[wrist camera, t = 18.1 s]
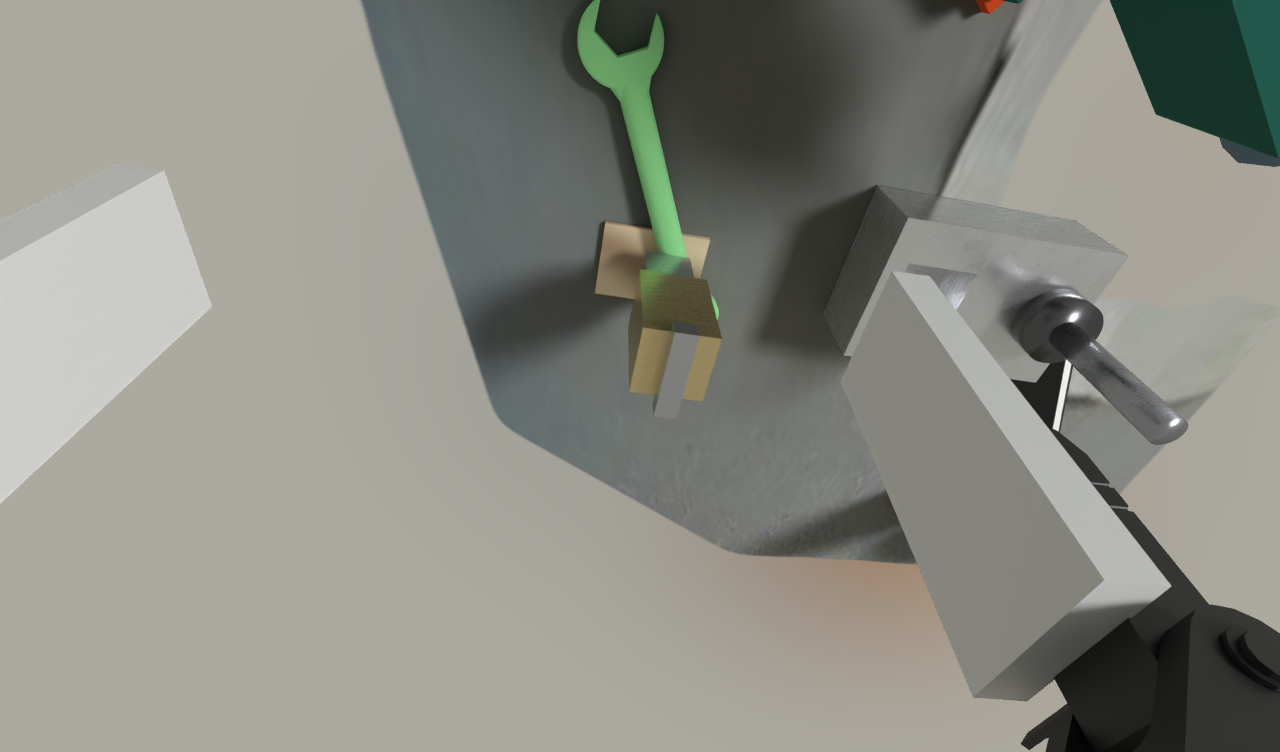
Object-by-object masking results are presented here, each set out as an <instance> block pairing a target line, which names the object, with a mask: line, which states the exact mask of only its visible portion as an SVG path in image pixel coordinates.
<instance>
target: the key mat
mask: <svg viewBox="0 0 1280 752" xmlns="http://www.w3.org/2000/svg"><path fill="white" fill-rule="evenodd" d="M682 237H683V242H684V246H685V251H686V255H687V258H690V260H691V264H692V269H693V274H694V278H699V279H700V276H701V272H702V268H703V265H704V261H705V257H706V253H707V250H708V246H709V242H710V238H708V237H702V236H695V235H689V234H683V233H682ZM645 251H648V252H655V253H659V251H658V248H657V244H656V240H655V236H654V232H653V229H652V228H646V227H640V226H634V225H627V224H621V223H615V222H609V221H605V227H604V234H603V241H602V248H601V254H600V261H599V268H598V275H597V281H596V288H595V293H596V294H603V295H610V296H616V297H623V298H630V299H634V297H635V292H636V287H637V282H638V277H639V272H640V269H642V264H643V259H644V254H645Z"/></svg>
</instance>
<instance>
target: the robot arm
mask: <svg viewBox="0 0 1280 752" xmlns="http://www.w3.org/2000/svg"><path fill="white" fill-rule="evenodd" d="M211 307H212V305H211V303H210V300H209V297H208V294H207V291H206V288H205V285H204V283H203V280H202V277H201V274H200V272H199V268H198V266H197V263H196V260H195V257H194V254H193V251H192V249H191V246H190V243H189V240H188V237H187V234H186V232H185V229H184V226H183V223H182V220H181V217H180V215H179V212H178V209H177V206H176V203H175V201H174V198H173V195H172V192H171V189H170V186H169V183H168V181H167V178H166V175H165V172H164V170H158V169H150V168H143V167H135V166H129V165H121V164H115V165H113V166H111V167H109V168H107V169H104V170H102V171H101V172H98V173H96V174H94V175H92V176H90V177H88V178H86V179H84V180H82V181H80V182H78V183H76V184H74V185H72V186H70V187H68V188H66V189H64V190H62V191H60V192H57V193H56V194H53V195H51V196H49V197H47V198H45V199H43V200H41V201H39V202H37V203H35V204H33V205H31V206H29V207H27V208H25V209H23V210H21V211H19V212H17V213H15V214H13V215H10V216H8V217H6V218H4V219H2V220H0V503H2V501H4V500H5V499H6V498H7V497H8V496H9V495H10V494H11V493H12V492H13V491H14V490H15V489H16V488H18V487H19V486H20V485H21V484H22V483H23V482H24V481H25V480H26V479H27V478H28V477H29V476H31V475H32V474H33V473H34V472H35V471H36V470H37V469H38V468H39V467H40V466H41V465H42V464H43V463H44V462H46V461H47V460H48V459H49V458H50V457H51V456H52V455H53V454H54V453H55V452H56V451H57V450H58V449H59V448H60V447H62V446H63V445H64V444H65V443H66V442H67V441H68V440H69V439H70V438H71V437H72V436H73V435H75V433H77V432H78V431H79V430H80V429H81V428H82V427H83V426H84V425H85V424H86V423H87V422H89V420H91V419H92V418H93V417H94V416H95V415H96V414H97V413H98V412H99V411H100V410H101V409H102V408H104V407H105V406H106V405H107V404H108V403H109V402H110V401H111V400H112V399H113V398H114V397H115V396H116V395H117V394H118V393H120V392H121V391H122V390H123V389H124V388H125V387H126V386H127V385H128V384H129V383H130V382H131V381H133V380H134V379H135V378H136V377H137V376H138V375H139V374H140V373H141V372H142V371H143V370H144V369H145V368H146V367H148V366H149V365H150V364H151V363H152V362H153V361H154V360H155V359H156V358H157V357H158V356H159V355H160V354H161V353H163V352H164V351H165V350H166V349H167V348H168V347H169V346H170V345H171V344H172V343H173V342H174V341H175V340H176V339H178V338H179V337H180V336H181V335H182V334H183V333H184V332H185V331H186V330H187V329H188V328H189V327H191V326H192V325H193V324H194V323H195V322H196V321H197V320H198V319H199V318H200V317H201V316H202V315H203V314H204V313H206V312H207V311H208V310H209V309H210V308H211ZM841 384H842V386H843V389H844V391H845V393H846V396H847V398H848V401H849V403H850V405H851V408H852V410H853V413H854V415H855V417H856V420H857V422H858V424H859V427H860V429H861V432H862V434H863V436H864V439H865V441H866V443H867V446H868V448H869V451H870V453H871V455H872V458H873V460H874V462H875V465H876V467H877V470H878V472H879V474H880V477H881V479H882V481H883V484H884V486H885V489H886V491H887V493H888V496H889V498H890V501H891V503H892V505H893V508H894V510H895V512H896V515H897V517H898V520H899V522H900V524H901V527H902V529H903V531H904V534H905V536H906V539H907V541H908V543H909V546H910V548H911V550H912V553H913V555H914V558H915V560H916V562H917V565H918V567H919V569H920V572H921V574H922V577H923V579H924V581H925V584H926V586H927V588H928V591H929V593H930V596H931V597H932V600H933V603H934V605H935V608H936V610H937V612H938V615H939V617H940V619H941V622H942V624H943V626H944V629H945V631H946V634H947V636H948V638H949V641H950V643H951V646H952V648H953V650H954V653H955V655H956V657H957V660H958V662H959V665H960V667H961V669H962V672H963V674H964V677H965V679H966V681H967V683H968V686H969V688H970V691H971V693H972V696H973V697H976V698H989V699H1004V700H1018V701H1028V700H1029V699H1030V698H1032V697H1033V696H1034V695H1036V694H1037V693H1038V692H1039V691H1040V690H1042V689H1043V688H1044V687H1046V686H1047V685H1048V684H1049V683H1051V682H1052V681H1053V680H1054V679H1055V681H1056V683H1057V684H1058V686H1059V688H1060V690H1061V691H1062V694H1063V696H1064V697H1065V699H1066V701H1067V704H1066V705H1065V706H1063V707H1062V708H1061V709H1059V710H1058V711H1057V712H1055V713H1054V714H1052V715H1051V716H1050V717H1048V718H1047V719H1046V720H1044V721H1043V722H1042V723H1040V724H1039V725H1038V726H1036V727H1035V728H1033V729H1032V730H1031V731H1029V732H1028V733H1027V735H1026V736H1025V738H1024V739H1023V741H1022V742H1021V744H1022V745H1023V746H1024V747H1026V748H1027V749H1028V750H1030V749H1031V748H1033V747H1034V746H1036V745H1037V744H1039V743H1040V742H1041V741H1043V740H1044V739H1046V738H1049V740H1048V744H1047V748H1046V752H1280V633H1278V632H1277V631H1275V630H1274V629H1272V628H1271V627H1269V626H1268V625H1266V624H1265V623H1263V622H1261V621H1260V620H1258V619H1255V618H1253V617H1251V616H1249V615H1246V614H1244V613H1242V612H1239V611H1237V610H1235V609H1232V608H1227V607H1221V606H1216V605H1209V604H1208V603H1207V602H1206V600H1205V599H1204V598H1203V597H1202V595H1201V594H1200V593H1199V592H1198V591H1197V589H1196V588H1195V587H1194V586H1193V584H1192V583H1191V582H1190V581H1189V579H1188V578H1187V577H1186V576H1185V575H1184V573H1183V572H1182V571H1181V570H1180V569H1179V567H1178V566H1177V565H1176V564H1175V562H1174V561H1173V560H1172V559H1171V557H1170V556H1169V555H1168V554H1167V552H1166V551H1165V550H1164V549H1163V548H1162V546H1161V545H1160V544H1159V543H1158V542H1157V540H1156V539H1155V538H1154V537H1153V535H1152V534H1151V533H1150V532H1149V530H1148V529H1147V528H1146V527H1145V525H1144V524H1143V523H1142V522H1141V521H1140V519H1139V518H1138V517H1137V516H1136V514H1135V513H1134V512H1131V511H1128V505H1127V503H1126V502H1125V501H1124V500H1123V498H1122V497H1121V496H1120V495H1119V494H1118V492H1117V491H1116V490H1115V489H1114V488H1109V481H1108V480H1107V479H1106V478H1105V476H1104V475H1103V474H1102V473H1101V471H1100V470H1099V469H1098V468H1097V466H1096V465H1095V464H1094V463H1093V462H1092V460H1091V459H1090V458H1089V457H1088V455H1087V454H1085V453H1084V452H1083V451H1082V450H1080V449H1079V448H1078V447H1077V446H1075V445H1074V444H1073V443H1072V442H1070V441H1069V440H1068V439H1067V438H1065V437H1064V436H1063V435H1062V434H1060V433H1059V432H1058V431H1057V430H1055V429H1048V427H1047V426H1046V425H1045V423H1044V422H1043V421H1042V420H1041V418H1040V417H1039V416H1038V414H1037V413H1036V412H1035V411H1034V409H1033V408H1032V407H1031V405H1030V404H1029V403H1028V402H1027V400H1026V399H1025V398H1024V397H1023V395H1022V394H1021V393H1020V391H1019V390H1018V389H1017V388H1016V386H1015V385H1014V384H1013V382H1012V381H1011V380H1010V379H1009V377H1008V376H1007V375H1006V373H1005V372H1004V371H1003V370H1002V368H1001V367H1000V366H999V365H998V363H997V362H996V361H995V359H994V358H993V357H992V356H991V354H990V353H989V352H988V350H987V349H986V348H985V347H984V345H983V344H982V343H981V341H980V340H979V339H978V338H977V336H976V335H975V334H974V333H973V331H972V330H971V329H970V327H969V326H968V325H967V324H966V322H965V321H964V320H963V318H962V317H961V316H960V315H959V313H958V312H957V311H956V309H955V308H954V307H953V306H952V304H951V303H950V302H949V301H948V299H947V298H946V297H945V295H944V294H943V293H942V292H941V290H940V289H939V288H938V286H937V285H936V284H935V283H934V281H933V280H932V279H931V278H930V276H925V275H918V274H911V273H903V272H896V271H891V273H890V275H889V278H888V280H887V282H886V284H885V286H884V288H883V291H882V293H881V295H880V297H879V299H878V301H877V304H876V306H875V308H874V310H873V312H872V314H871V317H870V319H869V321H868V323H867V325H866V327H865V330H864V332H863V334H862V336H861V338H860V340H859V343H858V345H857V347H856V349H855V351H854V353H853V356H852V358H851V360H850V362H849V364H848V366H847V369H846V371H845V373H844V375H843V377H842V379H841Z"/></svg>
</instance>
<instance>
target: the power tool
mask: <svg viewBox="0 0 1280 752" xmlns="http://www.w3.org/2000/svg"><path fill="white" fill-rule="evenodd" d="M975 1H976V3H977V4H978V6H979V8H980V10H981V12H984V13H988V14H990V13H992V12H993V11H994V10H995V9H996V8H998V7H999V6H1000V5H1001V4H1002V3H1003V2H1005V1H1008V2H1013V3H1018V4H1019V3H1020V2H1021V1H1022V0H975ZM1110 2H1111V5H1112V7H1113V9H1114V12H1115V14H1116V17H1117V19H1118V22H1119V24H1120V27H1121V29H1122V32H1123V34H1124V37H1125V39H1126V42H1127V44H1128V47H1129V49H1130V51H1131V54H1132V56H1133V59H1134V61H1135V64H1136V66H1137V69H1138V71H1139V74H1140V76H1141V79H1142V81H1143V84H1144V86H1145V89H1146V91H1147V94H1148V96H1149V99H1150V101H1151V104H1152V106H1153V109H1154V111H1155V113H1156V115H1159V116H1161V117H1164V118H1167V119H1170V120H1173V121H1175V122H1178V123H1181V124H1184V125H1186V126H1190V127H1192V128H1195V129H1198V130H1201V131H1204V132H1206V133H1209V134H1212V135H1214V136H1217V137H1219V138H1220V141H1221V144H1222V147H1223V148H1224V149H1225V150H1226V151H1227V152H1228V153H1229V154H1230V155H1231V156H1232V157H1233V158H1234V159H1235V160H1236V161H1237V162H1238V163H1247V164H1256V165H1265V166H1272V167H1276V166H1280V0H1110Z"/></svg>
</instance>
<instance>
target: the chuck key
mask: <svg viewBox="0 0 1280 752" xmlns="http://www.w3.org/2000/svg"><path fill="white" fill-rule="evenodd" d="M721 341H722V337H721V333H720V329H719V325H718V321H717V318H716V314H715V310H714V306H713V302H712V298H711V294H710V290H709V286H708V282H707V280H705V279H699V278H694V274H693V269H692V264H691V260H690V258H685V257H679V256H673V255H667V254H661V253H655V252H648V251H645V254H644V259H643V264H642V269H640V272H639V277H638V282H637V287H636V292H635V297H634V302H633V307H632V312H631V317H630V322H629V327H628V342H629V392H636V393H644V394H651V395H655V397H654V401H653V416H655V417H663V418H671V419H676V418H677V415H678V411H679V408H680V404H681V401H682V399H689V400H696V401H703V398H704V395H705V392H706V389H707V385H708V382H709V379H710V376H711V373H712V369H713V366H714V363H715V360H716V357H717V353H718V350H719V347H720V344H721Z"/></svg>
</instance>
